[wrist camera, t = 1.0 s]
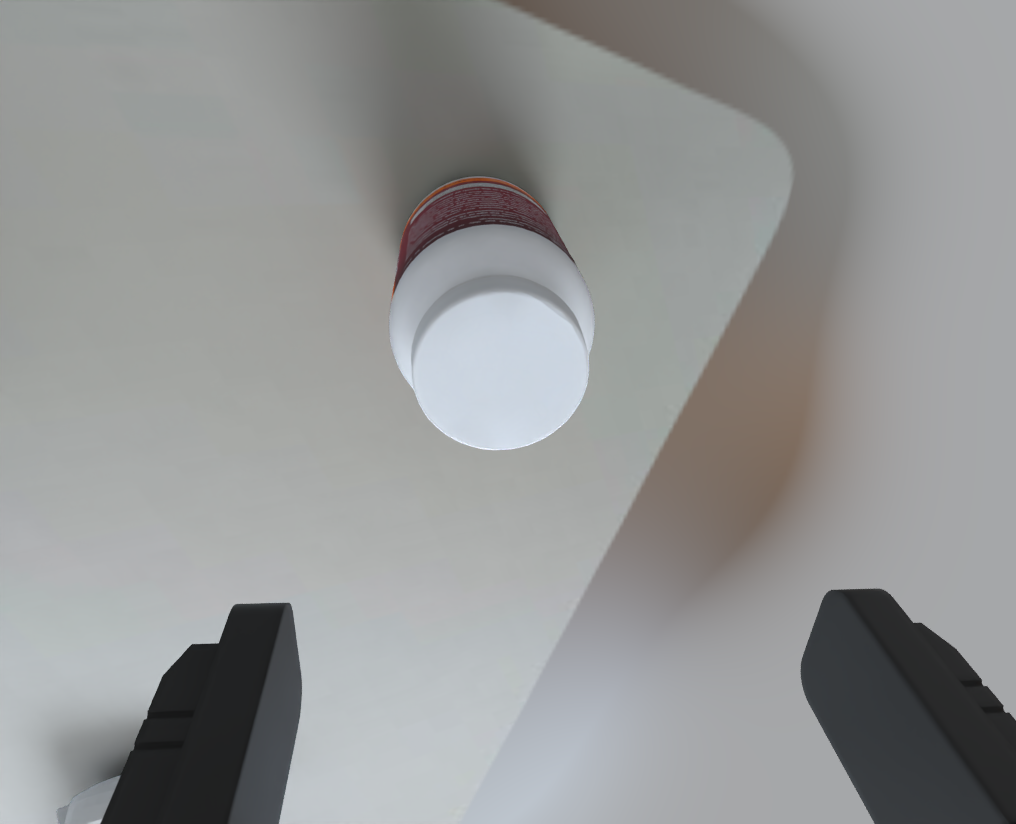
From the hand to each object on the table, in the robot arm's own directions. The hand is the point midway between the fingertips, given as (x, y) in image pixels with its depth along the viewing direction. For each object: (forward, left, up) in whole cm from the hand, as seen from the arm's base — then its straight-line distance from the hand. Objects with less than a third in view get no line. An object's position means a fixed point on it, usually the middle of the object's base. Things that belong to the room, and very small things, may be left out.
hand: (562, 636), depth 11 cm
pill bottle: (0, 0, -20) cm, 20 cm away
